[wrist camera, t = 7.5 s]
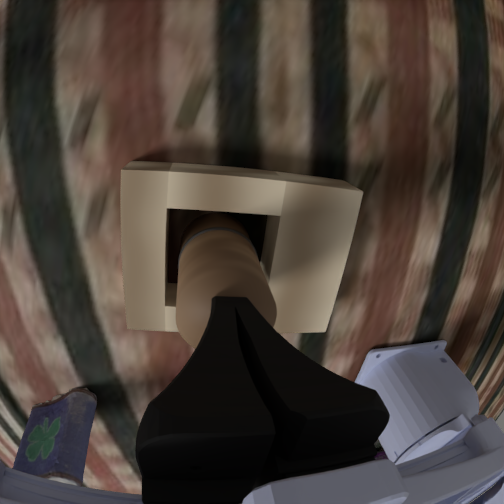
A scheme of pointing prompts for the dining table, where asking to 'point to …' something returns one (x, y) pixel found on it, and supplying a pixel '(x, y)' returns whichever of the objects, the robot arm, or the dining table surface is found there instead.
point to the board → (240, 201)
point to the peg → (217, 273)
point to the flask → (58, 437)
